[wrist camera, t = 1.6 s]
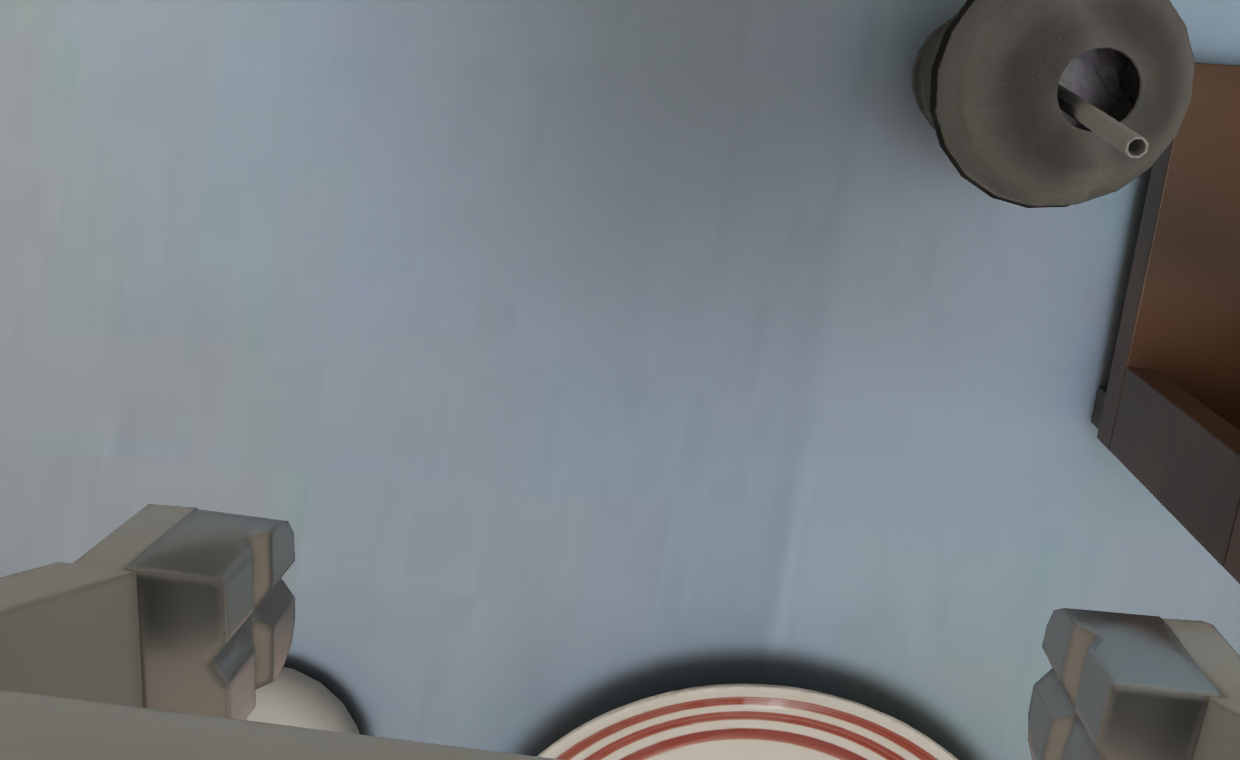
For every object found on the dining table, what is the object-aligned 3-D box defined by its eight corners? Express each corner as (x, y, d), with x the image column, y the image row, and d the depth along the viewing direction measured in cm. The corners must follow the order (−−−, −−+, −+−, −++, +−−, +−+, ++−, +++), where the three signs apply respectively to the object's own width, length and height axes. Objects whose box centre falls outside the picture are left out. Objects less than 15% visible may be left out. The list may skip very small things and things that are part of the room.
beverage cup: (1102, 27, 43) (1414, 11, 23) (1005, 199, 45) (1218, 312, 26) (933, -56, 42) (1110, -140, 23) (843, 121, 44) (937, 178, 25)
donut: (397, 687, 54) (202, 621, 54) (377, 730, 51) (169, 659, 50) (345, 845, 57) (160, 783, 57) (324, 894, 54) (127, 829, 53)
